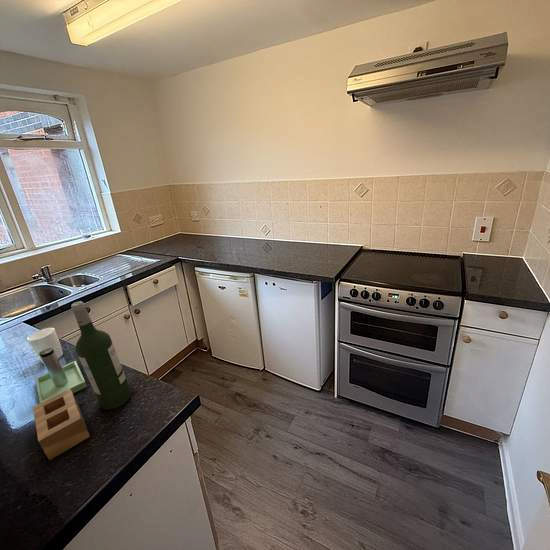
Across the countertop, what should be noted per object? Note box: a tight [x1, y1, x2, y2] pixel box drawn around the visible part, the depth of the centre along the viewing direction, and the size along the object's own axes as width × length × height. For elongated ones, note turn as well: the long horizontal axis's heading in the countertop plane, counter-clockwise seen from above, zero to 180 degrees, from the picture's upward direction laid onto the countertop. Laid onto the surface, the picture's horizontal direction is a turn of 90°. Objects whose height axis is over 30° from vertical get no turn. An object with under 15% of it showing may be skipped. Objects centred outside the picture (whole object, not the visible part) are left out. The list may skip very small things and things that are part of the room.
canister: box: [39, 348, 68, 387], centre depth 89 cm, size 3×3×12 cm
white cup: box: [27, 327, 64, 364], centre depth 105 cm, size 8×8×10 cm
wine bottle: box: [70, 300, 132, 410], centre depth 77 cm, size 8×8×30 cm
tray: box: [34, 360, 88, 404], centre depth 91 cm, size 15×11×2 cm
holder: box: [32, 389, 91, 461], centre depth 74 cm, size 15×8×6 cm, turn 42°
